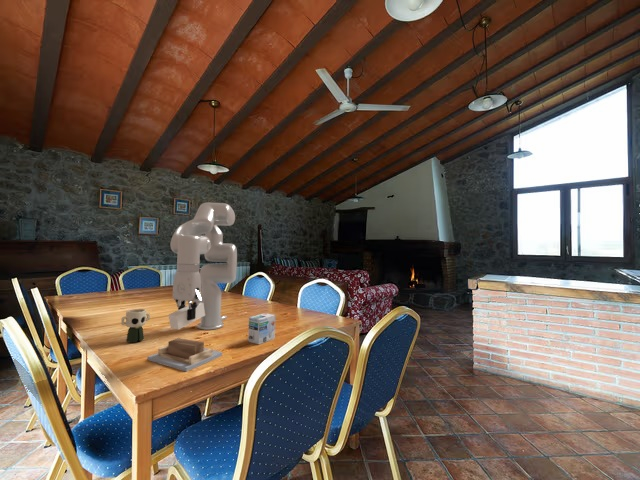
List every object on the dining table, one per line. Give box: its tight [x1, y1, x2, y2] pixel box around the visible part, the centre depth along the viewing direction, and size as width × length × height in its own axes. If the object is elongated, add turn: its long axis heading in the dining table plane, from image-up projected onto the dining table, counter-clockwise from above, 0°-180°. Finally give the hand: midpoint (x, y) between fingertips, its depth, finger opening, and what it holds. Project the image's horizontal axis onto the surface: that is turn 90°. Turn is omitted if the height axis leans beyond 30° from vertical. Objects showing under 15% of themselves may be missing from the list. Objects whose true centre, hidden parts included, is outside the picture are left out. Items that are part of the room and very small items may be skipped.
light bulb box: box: [247, 312, 276, 345], centre depth 130 cm, size 11×7×11 cm, turn 148°
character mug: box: [120, 308, 151, 343], centre depth 124 cm, size 11×7×13 cm, turn 145°
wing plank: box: [168, 303, 205, 331], centre depth 107 cm, size 12×4×5 cm, turn 154°
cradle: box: [157, 345, 214, 365], centre depth 107 cm, size 9×17×2 cm, turn 64°
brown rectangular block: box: [167, 337, 205, 359], centre depth 107 cm, size 4×12×5 cm, turn 71°
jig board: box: [147, 347, 223, 372], centre depth 108 cm, size 16×20×1 cm
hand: (186, 318), depth 107 cm, fingers closed on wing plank, 4 cm apart
